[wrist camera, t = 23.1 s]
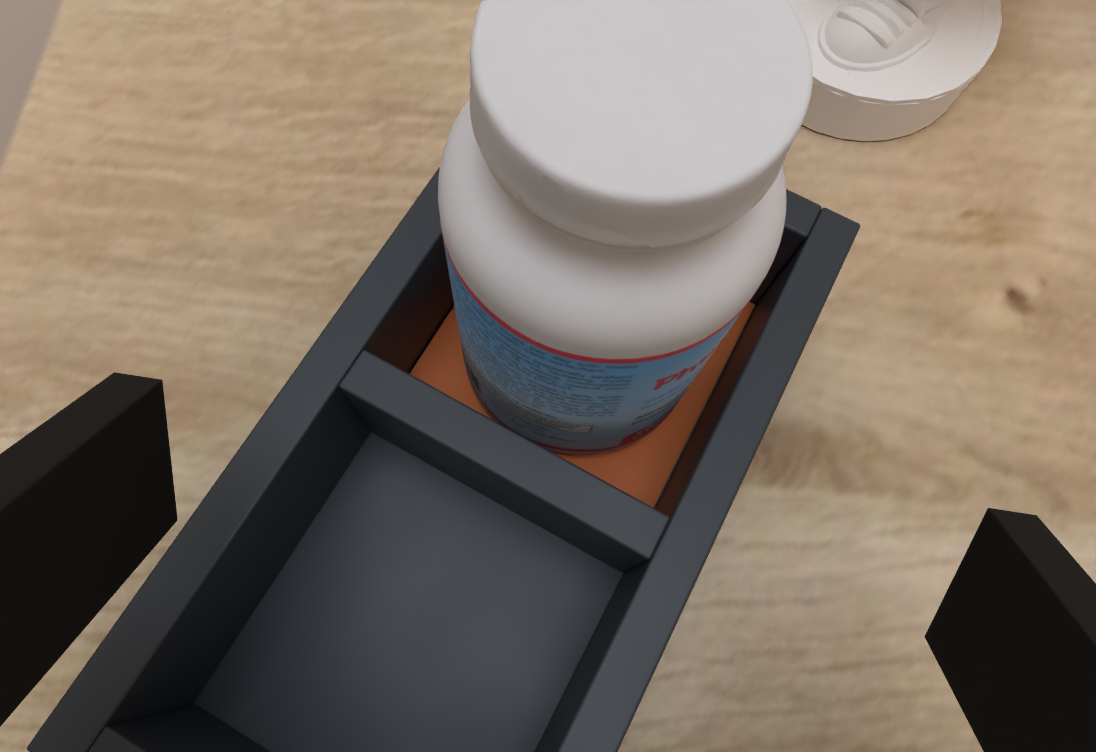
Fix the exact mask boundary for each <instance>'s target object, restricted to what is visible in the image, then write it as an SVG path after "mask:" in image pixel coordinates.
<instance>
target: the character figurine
mask: <svg viewBox="0 0 1096 752" xmlns="http://www.w3.org/2000/svg"><path fill="white" fill-rule="evenodd" d="M789 2H790V4H791V5H792V7H793V8H794V10H795V12H796V14H797V15H798V17H799V19H800V21H801V24H802V26H803V29H804V31H805V34H806V36H807V39H808V43H809V47H810V52H811V58H812V67H813V84H812V91H811V97H810V101H809V106H808V110H807V113H806V115H805V118H804V121H803V123H802V125H803V126H805V127H807V128H809V129H811V130H814V131H816V132H820V133H823V134H826V135H830V136H833V137H836V138H841V139H849V140H857V141H878V140H890V139H894V138H898V137H902V136H906V135H910V134H912V133H914V132H916V131H918V130H920V129H922V128H924V127H926V126H929V125H930V124H931V123H933V122H934V121H935V120H936V119H938V118H939V117H940V116H941V115H942V114H944V113H945V112H946V111H947V110H948V108H949V107H950V106H951V105H952V104H953V102H954V101H955V100H956V99H957V98H958V96H959V95H960V94H961V93H962V92H963V90H964V89H965V88H966V87H967V86H968V85H969V83H970V82H971V81H972V80H973V79H974V77H975V76H976V75H977V74H978V73H979V71H980V70H981V69H982V67H983V66H984V64H985V63H986V62H987V60H988V59H989V57H990V56H991V54H992V53H993V51H994V50H995V48H996V44H997V41H998V37H999V33H1000V29H1001V25H1002V15H1001V3H1000V0H789Z"/></svg>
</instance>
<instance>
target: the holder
mask: <svg viewBox="0 0 1096 752" xmlns="http://www.w3.org/2000/svg"><path fill="white" fill-rule="evenodd" d="M439 170H440V167H439V169H438V170H437V171H436V173H435V174H434V176H433V177H432V179H431V180H430V181H429V183H428V184H427V186H426V187H425V188H424V190H423V191H422V193H421V194H420V195H419V197H418V198H417V200H416V201H415V202H414V204H413V205H412V207H411V208H410V209H409V211H408V212H407V214H406V215H405V216H404V218H403V219H402V221H401V222H400V224H399V225H398V226H397V228H396V229H395V231H394V232H393V233H392V235H391V236H390V238H389V239H388V240H387V242H386V243H385V245H384V246H383V247H382V249H381V250H380V252H379V253H378V254H377V256H376V257H375V259H374V260H373V261H372V263H371V264H370V266H369V267H368V269H367V270H366V271H365V273H364V274H363V276H362V277H361V278H360V280H359V281H358V283H357V284H356V285H355V287H354V288H353V290H352V291H351V292H350V294H349V295H348V297H347V298H346V299H345V301H344V302H343V304H342V305H341V306H340V308H339V309H338V311H337V312H336V314H335V315H334V316H333V318H332V319H331V321H330V322H329V323H328V325H327V326H326V328H325V329H324V330H323V332H322V333H321V335H320V336H319V337H318V339H317V340H316V342H315V343H314V344H313V346H312V347H311V349H310V350H309V352H308V353H307V354H306V356H305V357H304V359H303V360H302V361H301V363H300V364H299V366H298V367H297V368H296V370H295V371H294V373H293V374H292V375H291V377H290V378H289V380H288V381H287V382H286V384H285V385H284V387H283V388H282V389H281V391H280V392H279V394H278V395H277V397H276V398H275V399H274V401H273V402H272V404H271V405H270V406H269V408H268V409H267V411H266V412H265V413H264V415H263V416H262V418H261V419H260V420H259V422H258V423H257V425H256V426H255V427H254V429H253V430H252V432H251V433H250V434H249V436H248V437H247V439H246V440H245V442H244V443H243V444H242V446H241V447H240V449H239V450H238V451H237V453H236V454H235V456H234V457H233V458H232V460H231V461H230V463H229V464H228V465H227V467H226V468H225V470H224V471H223V472H222V474H221V475H220V477H219V478H218V480H217V481H216V482H215V484H214V485H213V487H212V488H211V489H210V491H209V492H208V494H207V495H206V496H205V498H204V499H203V501H202V502H201V503H200V505H199V506H198V508H197V509H196V510H195V512H194V513H193V515H192V516H191V517H190V519H189V520H188V522H187V523H186V525H185V526H184V527H183V529H182V530H181V532H180V533H179V534H178V536H177V537H176V539H175V540H174V541H173V543H172V544H171V546H170V547H169V548H168V550H167V551H166V553H165V554H164V555H163V557H162V558H161V560H160V561H159V562H158V564H157V565H156V567H155V568H154V570H153V571H152V572H151V574H150V575H149V577H148V578H147V579H146V581H145V582H144V584H143V585H142V586H141V588H140V589H139V591H138V592H137V593H136V595H135V596H134V598H133V599H132V600H131V602H130V603H129V605H128V606H127V607H126V609H125V610H124V612H123V613H122V615H121V616H120V617H119V619H118V620H117V622H116V623H115V624H114V626H113V627H112V629H111V630H110V631H109V633H108V634H107V636H106V637H105V638H104V640H103V641H102V643H101V644H100V645H99V647H98V648H97V650H96V651H95V653H94V654H93V655H92V657H91V658H90V660H89V661H88V662H87V664H86V665H85V667H84V668H83V669H82V671H81V672H80V674H79V675H78V676H77V678H76V679H75V681H74V682H73V683H72V685H71V686H70V688H69V689H68V690H67V692H66V693H65V695H64V696H63V698H62V699H61V700H60V702H59V703H58V705H57V706H56V707H55V709H54V710H53V712H52V713H51V714H50V716H49V717H48V719H47V720H46V721H45V723H44V724H43V726H42V727H41V728H40V730H39V731H38V733H37V734H36V735H35V737H34V738H33V740H32V741H31V743H30V744H29V745H28V747H27V750H28V751H29V752H617V751H618V749H619V747H620V745H621V742H622V740H623V738H624V736H625V734H626V732H627V729H628V727H629V725H630V723H631V721H632V719H633V716H634V714H635V712H636V710H637V708H638V706H639V704H640V701H641V699H642V697H643V695H644V693H645V691H646V688H647V686H648V684H649V682H650V680H651V678H652V675H653V673H654V671H655V669H656V667H657V665H658V662H659V660H660V658H661V656H662V654H663V652H664V650H665V647H666V645H667V643H668V641H669V639H670V637H671V634H672V632H673V630H674V628H675V626H676V624H677V621H678V619H679V617H680V615H681V613H682V611H683V608H684V606H685V604H686V602H687V600H688V598H689V595H690V593H691V591H692V589H693V587H694V585H695V583H696V580H697V578H698V576H699V574H700V572H701V570H702V567H703V565H704V563H705V561H706V559H707V557H708V554H709V552H710V550H711V548H712V546H713V544H714V541H715V539H716V537H717V535H718V533H719V531H720V529H721V526H722V524H723V522H724V520H725V518H726V516H727V513H728V511H729V509H730V507H731V505H732V503H733V500H734V498H735V496H736V494H737V492H738V490H739V487H740V485H741V483H742V481H743V479H744V477H745V474H746V472H747V470H748V468H749V466H750V464H751V462H752V459H753V457H754V455H755V453H756V451H757V449H758V446H759V444H760V442H761V440H762V438H763V436H764V433H765V431H766V429H767V427H768V425H769V423H770V420H771V418H772V416H773V414H774V412H775V410H776V408H777V405H778V403H779V401H780V399H781V397H782V395H783V392H784V390H785V388H786V386H787V384H788V382H789V379H790V377H791V375H792V373H793V371H794V369H795V366H796V364H797V362H798V360H799V358H800V356H801V353H802V351H803V349H804V347H805V345H806V343H807V341H808V338H809V336H810V334H811V332H812V330H813V328H814V325H815V323H816V321H817V319H818V317H819V315H820V312H821V310H822V308H823V306H824V304H825V302H826V299H827V297H828V295H829V293H830V291H831V289H832V287H833V284H834V282H835V280H836V278H837V276H838V274H839V271H840V269H841V267H842V265H843V263H844V261H845V258H846V256H847V254H848V252H849V250H850V248H851V245H852V243H853V241H854V239H855V237H856V235H857V232H858V230H859V228H860V224H858V223H856V222H854V221H852V220H850V219H848V218H846V217H844V216H842V215H840V214H837V213H835V212H833V211H831V210H829V209H827V208H822V209H821V206H820V205H818V204H816V203H814V202H812V201H810V200H808V199H806V198H804V197H801V196H799V195H797V194H795V193H793V192H791V191H789V190H787V189H786V217H785V223H784V229H783V233H782V237H781V241H780V245H779V247H778V250H777V253H776V256H775V258H774V261H773V263H772V265H771V267H770V269H769V271H768V273H767V275H766V276H765V278H764V280H763V281H762V283H761V284H760V286H759V288H758V289H757V291H756V292H755V294H754V295H753V297H752V298H751V300H750V301H749V303H748V304H747V306H746V307H745V308H744V309H743V311H742V312H741V313H740V315H739V316H738V318H737V319H736V321H735V322H734V324H733V325H732V327H731V328H730V330H729V331H728V332H727V334H726V336H725V337H724V338H723V339H722V341H721V342H720V343H719V345H718V346H717V348H716V349H715V351H714V352H713V353H712V355H711V356H710V358H709V359H708V361H707V362H706V364H705V365H704V366H703V368H702V369H701V371H700V372H699V374H698V375H697V376H696V378H695V379H694V381H693V382H692V383H691V385H690V386H689V388H688V389H687V390H686V392H685V393H684V395H683V396H682V398H681V399H680V401H679V402H678V404H677V405H676V406H675V408H674V409H673V410H672V412H671V413H670V414H669V415H668V416H667V417H666V418H665V420H664V421H663V422H662V423H661V424H660V425H659V426H658V427H657V428H655V429H654V430H653V431H652V432H650V433H649V434H648V435H646V436H645V437H644V438H642V439H640V440H639V441H637V442H635V443H633V444H631V445H629V446H626V447H624V448H621V449H618V450H614V451H610V452H605V453H598V454H587V455H586V454H566V453H559V452H553V451H549V450H547V449H545V448H543V447H542V446H540V445H538V444H536V443H534V442H532V441H531V440H529V439H527V438H525V437H523V436H522V435H520V434H518V433H516V432H514V431H512V430H511V429H509V428H507V427H505V426H503V425H501V424H500V423H498V422H496V421H494V420H493V419H492V418H491V416H490V415H489V414H488V413H487V412H486V410H485V409H484V408H483V406H482V405H481V403H480V402H479V400H478V399H477V397H476V395H475V393H474V391H473V389H472V386H471V384H470V381H469V378H468V375H467V371H466V367H465V363H464V359H463V353H462V346H461V342H460V336H459V330H458V324H457V318H456V313H455V307H454V300H453V294H452V288H451V282H450V276H449V270H448V265H447V259H446V253H445V247H444V241H443V235H442V230H441V225H440V213H439V205H438V177H439Z"/></svg>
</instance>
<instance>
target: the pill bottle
mask: <svg viewBox="0 0 1096 752" xmlns="http://www.w3.org/2000/svg"><path fill="white" fill-rule="evenodd" d="M470 82H471V87H470V99H469V100H468V101H467V102H466V104H465V105H464V107H463V108H462V110H461V112H460V113H459V115H458V117H457V119H456V121H455V122H454V124H453V126H452V129H451V131H450V133H449V135H448V138H447V141H446V144H445V147H444V150H443V154H442V159H441V164H440V170H439V177H438V205H439V213H440V225H441V230H442V235H443V241H444V247H445V253H446V259H447V265H448V270H449V276H450V282H451V288H452V294H453V300H454V307H455V313H456V318H457V324H458V330H459V336H460V342H461V346H462V353H463V359H464V363H465V367H466V371H467V375H468V378H469V381H470V384H471V386H472V389H473V391H474V393H475V395H476V397H477V399H478V400H479V402H480V403H481V405H482V406H483V408H484V409H485V410H486V412H487V413H488V414H489V415H490V416H491V418H492V419H493V420H494V421H496V422H498V423H500V424H501V425H503V426H505V427H507V428H509V429H511V430H512V431H514V432H516V433H518V434H520V435H522V436H523V437H525V438H527V439H529V440H531V441H532V442H534V443H536V444H538V445H540V446H542V447H543V448H545V449H547V450H549V451H553V452H559V453H566V454H586V455H587V454H598V453H605V452H610V451H614V450H618V449H621V448H624V447H626V446H629V445H631V444H633V443H635V442H637V441H639V440H640V439H642V438H644V437H645V436H646V435H648V434H649V433H650V432H652V431H653V430H654V429H655V428H657V427H658V426H659V425H660V424H661V423H662V422H663V421H664V420H665V418H666V417H667V416H668V415H669V414H670V413H671V412H672V410H673V409H674V408H675V406H676V405H677V404H678V402H679V401H680V399H681V398H682V396H683V395H684V393H685V392H686V390H687V389H688V388H689V386H690V385H691V383H692V382H693V381H694V379H695V378H696V376H697V375H698V374H699V372H700V371H701V369H702V368H703V366H704V365H705V364H706V362H707V361H708V359H709V358H710V356H711V355H712V353H713V352H714V351H715V349H716V348H717V346H718V345H719V343H720V342H721V341H722V339H723V338H724V337H725V336H726V334H727V332H728V331H729V330H730V328H731V327H732V325H733V324H734V322H735V321H736V319H737V318H738V316H739V315H740V313H741V312H742V311H743V309H744V308H745V307H746V306H747V304H748V303H749V301H750V300H751V298H752V297H753V295H754V294H755V292H756V291H757V289H758V288H759V286H760V284H761V283H762V281H763V280H764V278H765V276H766V275H767V273H768V271H769V269H770V267H771V265H772V263H773V261H774V258H775V256H776V253H777V250H778V247H779V245H780V241H781V237H782V233H783V229H784V223H785V217H786V184H785V176H784V170H783V163H784V160H785V157H786V154H787V152H788V150H789V148H790V146H791V144H792V142H793V141H794V139H795V137H796V135H797V133H798V131H799V129H800V127H801V125H802V123H803V121H804V118H805V115H806V113H807V110H808V106H809V101H810V97H811V91H812V84H813V67H812V58H811V52H810V47H809V43H808V39H807V36H806V34H805V31H804V29H803V26H802V24H801V21H800V19H799V17H798V15H797V14H796V12H795V10H794V8H793V7H792V5H791V4H790V2H789V0H482V2H481V4H480V7H479V9H478V12H477V16H476V19H475V23H474V27H473V32H472V37H471V47H470Z"/></svg>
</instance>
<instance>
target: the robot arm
mask: <svg viewBox="0 0 1096 752" xmlns="http://www.w3.org/2000/svg"><path fill="white" fill-rule="evenodd" d="M176 521H177V511H176V502H175V493H174V484H173V474H172V465H171V456H170V447H169V438H168V429H167V420H166V410H165V401H164V392H163V383H162V380H159V379H153V378H147V377H140V376H134V375H127V374H121V373H113V374H111V375H110V376H109V377H107V378H106V379H105V380H103V381H102V382H100V383H99V384H98V385H96V386H95V387H93V388H92V389H91V390H89V391H88V392H86V393H85V394H84V395H82V396H81V397H79V398H78V399H77V400H75V401H74V402H72V403H71V404H70V405H68V406H67V407H65V408H64V409H63V410H61V411H60V412H58V413H57V414H56V415H54V416H53V417H51V418H50V419H49V420H47V421H46V422H44V423H43V424H42V425H40V426H39V427H37V428H36V429H35V430H33V431H32V432H31V433H29V434H28V435H26V436H25V437H24V438H22V439H21V440H19V441H18V442H17V443H15V444H14V445H12V446H11V447H10V448H8V449H7V450H5V451H4V452H3V453H1V454H0V726H1V725H2V724H3V723H4V722H5V720H6V719H7V718H8V717H9V716H10V715H11V713H12V712H13V711H14V710H15V709H16V708H17V706H18V705H19V704H20V703H21V702H22V701H23V699H24V698H25V697H26V696H27V695H28V694H29V692H30V691H31V690H32V689H33V688H34V687H35V685H36V684H37V683H38V682H39V681H40V680H41V678H42V677H43V676H44V675H45V674H46V673H47V672H48V670H49V669H50V668H51V667H52V666H53V665H54V663H55V662H56V661H57V660H58V659H59V658H60V656H61V655H62V654H63V653H64V652H65V651H66V649H67V648H68V647H69V646H70V645H71V644H72V642H73V641H74V640H75V639H76V638H77V637H78V635H79V634H80V633H81V632H82V631H83V630H84V628H85V627H86V626H87V625H88V624H89V623H90V621H91V620H92V619H93V618H94V617H95V616H96V614H97V613H98V612H99V611H100V610H101V609H102V607H103V606H104V605H105V604H106V603H107V602H108V600H109V599H110V598H111V597H112V596H113V595H114V593H115V592H116V591H117V590H118V589H119V588H120V586H121V585H122V584H123V583H124V582H125V581H126V579H127V578H128V577H129V576H130V575H131V574H132V572H133V571H134V570H135V569H136V568H137V567H138V565H139V564H140V563H141V562H142V561H143V560H144V558H145V557H146V556H147V555H148V554H149V553H150V552H151V550H152V549H153V548H154V547H155V546H156V545H157V543H158V542H159V541H160V540H161V539H162V538H163V536H164V535H165V534H166V533H167V532H168V531H169V529H170V528H171V527H172V526H173V525H174V524H175V522H176ZM925 638H926V640H927V642H928V644H929V646H930V648H931V650H932V652H933V654H934V656H935V658H936V660H937V662H938V664H939V666H940V667H941V669H942V671H943V673H944V675H945V677H946V679H947V681H948V683H949V685H950V687H951V689H952V691H953V693H954V695H955V697H956V699H957V701H958V702H959V704H960V706H961V708H962V710H963V712H964V714H965V716H966V718H967V720H968V722H969V724H970V726H971V728H972V730H973V732H974V734H975V736H976V737H977V739H978V741H979V743H980V745H981V747H982V749H983V751H984V752H1096V583H1095V582H1094V581H1093V580H1092V579H1091V578H1090V577H1089V575H1088V574H1087V573H1086V572H1085V571H1084V570H1083V568H1082V567H1081V566H1080V565H1079V564H1078V563H1077V562H1076V560H1075V559H1074V558H1073V557H1072V556H1071V555H1070V553H1069V552H1068V551H1067V550H1066V549H1065V548H1064V546H1063V545H1062V544H1061V543H1060V542H1059V541H1058V540H1057V538H1056V537H1055V536H1054V535H1053V534H1052V533H1051V531H1050V530H1049V529H1048V528H1047V527H1046V526H1045V525H1044V523H1043V522H1042V521H1041V520H1040V519H1039V518H1038V516H1037V515H1030V514H1024V513H1017V512H1011V511H1004V510H998V509H992V508H988V509H987V511H986V513H985V515H984V517H983V519H982V521H981V523H980V525H979V528H978V530H977V532H976V534H975V536H974V538H973V540H972V542H971V544H970V546H969V548H968V550H967V552H966V554H965V556H964V558H963V560H962V562H961V564H960V566H959V568H958V570H957V572H956V574H955V576H954V578H953V580H952V582H951V584H950V586H949V588H948V590H947V592H946V594H945V596H944V598H943V600H942V603H941V605H940V607H939V609H938V611H937V613H936V615H935V617H934V619H933V621H932V623H931V625H930V627H929V629H928V631H927V633H926V635H925Z"/></svg>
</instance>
